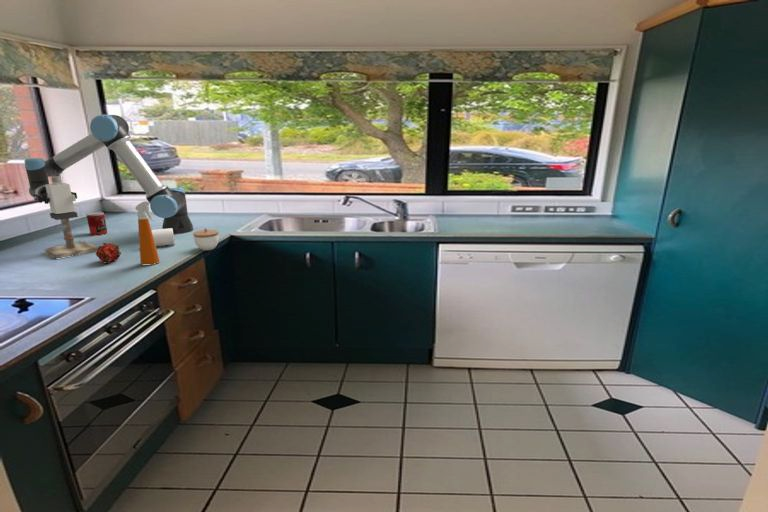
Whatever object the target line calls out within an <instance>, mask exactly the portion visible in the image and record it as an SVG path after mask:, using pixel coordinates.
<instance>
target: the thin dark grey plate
mask: <svg viewBox="0 0 768 512" xmlns="http://www.w3.org/2000/svg"><path fill="white" fill-rule="evenodd" d="M49 215H50V216H49V217H50V218H51V219H54V220H55V221H59V220H60V221H61V219H67V218H69V219H74V218H78V217H79V216H78V212H76V211H75V212H68V213H64V214H55V213H53V212H49Z"/></svg>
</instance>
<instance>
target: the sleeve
mask: <svg viewBox="0 0 768 512" xmlns="http://www.w3.org/2000/svg"><path fill="white" fill-rule="evenodd" d="M61 184H62V185H53V183H49V184H46V185H45V186H46V191H47V195H48V196H51V197H54V201H55V204H52V203H48V204H49V207H50V213H55V214H60V213H68V212H76V209H75V204H74V201H73V200H72V194H71V192H72V191H71V186H70V184H69V183H68V182H67V183H66V182H61Z"/></svg>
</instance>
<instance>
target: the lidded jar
mask: <svg viewBox="0 0 768 512" xmlns="http://www.w3.org/2000/svg"><path fill="white" fill-rule="evenodd" d="M193 238H194V243H195V245H196V246H197V247H198V248H199V249H200V250H201V249H202V250H201V251H211V250H214V249H216V247H217V245H218V243H219V238H220V237H219V230H217V229H207V228H204V229H201V230H198V231H197V230H196V231H194V233H193Z"/></svg>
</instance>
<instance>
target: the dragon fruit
mask: <svg viewBox="0 0 768 512" xmlns="http://www.w3.org/2000/svg"><path fill="white" fill-rule="evenodd" d="M97 248H98V249H97V252H95V255H96V257H97V258H98V259H99V260H100V261H101V262H102V263H103V262H109V261H110V262H111V263H112V262H114V261H113V260H116V261H118V259H119V258H120V257H121V255H122V252H121V251H120V248H119V245H117V244H114V243H113V242H109V243H107V242H104V243H103V244H102V245H100V246H98V247H97ZM110 262H109V263H110Z"/></svg>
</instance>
